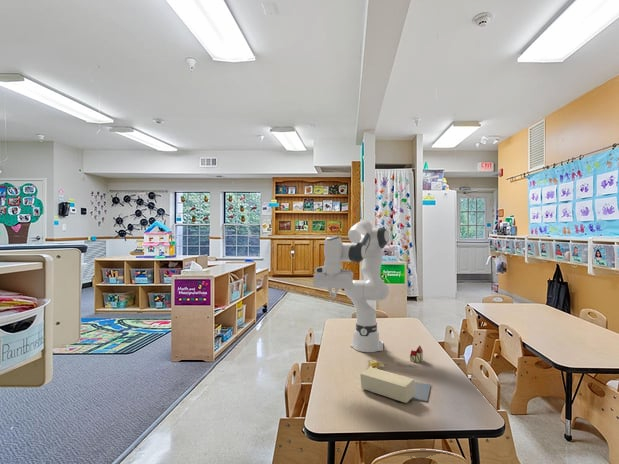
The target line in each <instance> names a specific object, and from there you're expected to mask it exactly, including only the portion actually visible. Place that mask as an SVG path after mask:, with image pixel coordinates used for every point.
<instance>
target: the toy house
mask: <svg viewBox="0 0 619 464" xmlns="http://www.w3.org/2000/svg"><path fill="white" fill-rule="evenodd" d="M409 359H410V362H413V363H420V364H422V362H423V361H424V351H423V348H422V346H421V345H418V346H417V348H416V350H413V349H412V350H411V351H410V355H409Z"/></svg>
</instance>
